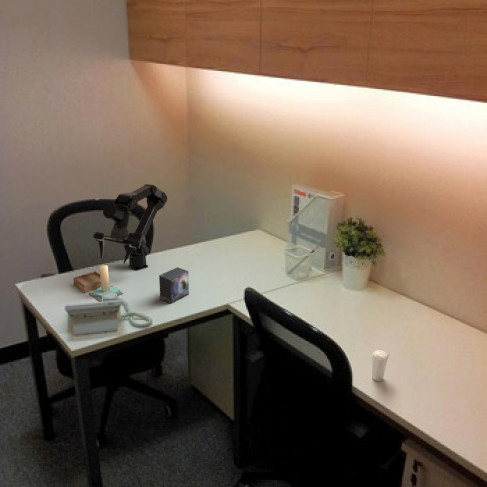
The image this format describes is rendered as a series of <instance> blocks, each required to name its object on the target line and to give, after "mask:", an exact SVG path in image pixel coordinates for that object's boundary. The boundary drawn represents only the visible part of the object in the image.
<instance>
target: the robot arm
mask: <svg viewBox="0 0 487 487" xmlns="http://www.w3.org/2000/svg"><path fill="white" fill-rule="evenodd" d="M144 199H146V208H145V210H144V213H143V214H142V217H141V218H140V220H139V222H138V224H137V227H136V229H135V230H134V232H130V229H128V228H129V224H130V219H131V217H133V216H134V214H133V212H132V210H133V209H134V208H136V207H137V206H138V205H139V204H138V203H139V202H140V201H142V200H144ZM167 201H168V196H167V194H166V192H164V191H163V190H161V189H159V188H158V187H157V186H156V185H154V184H149V183H147V184H143V186H141V187H139V188H137V189H134V190H133V191H132V192H122V193H119V194H118V195H117V197H116V198H115V199H114V201H109V204H107V205H106V206H104V208H103V210H102V215H103V217H105V218H106V219H108V220H110V221H113V226H112V229H111V230H110V235H109V236H108V235H106V234H105V233H103V232H99V231H96V232H94V233H93V236H92V239H93V240H95V243H98V246H99V252H100V253H99V255H100V259H101V260H102V259H103V258H104V250H105V241H107V242H112V243H116V244H122V245H123V247H124V250H125V256H124V258H123V264H126V262H127V260H128V263H129V264H128V267H129V268H131V269H133V271H134V270H135V271H139V270H142V269H145V268H148V267H149V265H148V264H147V256H148V254H149V252H150V248H149V247H148V246H147V241H146V236H147V233H148V232H149V230H150V228H151V226H152V223H153V222H154V219H155V217H156V215H157V213H158V211H160V210H161V209H163V208H164V206H165V205H166V203H167Z"/></svg>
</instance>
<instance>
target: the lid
mask: <svg viewBox="0 0 487 487" xmlns="http://www.w3.org/2000/svg"><path fill="white" fill-rule="evenodd" d="M99 274H100V278H101V287H100V288H98V289H97V290H94V291H91V292H92V293H91V295H90V296H92V295H93V296H97V297H101V298H102V294H103V293H104V292H107V291H112V292H115V293H116V294H117V293H118V292H121V288H119V287H115V286H113V287H111V286H112V285H110V276H109V266H108V264H101V265H99ZM93 296H92V297H93Z"/></svg>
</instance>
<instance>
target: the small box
mask: <svg viewBox="0 0 487 487" xmlns="http://www.w3.org/2000/svg"><path fill="white" fill-rule="evenodd" d="M189 274H190V272H189V271H188V270H186V269H183V268H180V267H178V266H177V267H175V268H172V269H171V270H170V269H169V270H168V271H166V272H164V273H163V272H162V273H161V274H159V275H158V277H159V278H158V281H159V282H158V283H159V284H158V285H159V300H161V301H163V302H166V303H168V304H170V305H171V304H173V303H175V302H177V301H178V300H181V299H183V298H186V296H189V295H190V289H189V287H190V286H189V285H190V284H189V283H190V281H189Z"/></svg>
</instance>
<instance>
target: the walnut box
mask: <svg viewBox="0 0 487 487" xmlns="http://www.w3.org/2000/svg"><path fill="white" fill-rule="evenodd" d="M72 282H73V286H75V287H76V288H77V289H78V290H80V291H81V292H83V293H84V294H87V293H90V292H93V291H95V290H97V289H98V288H100V287H101V278H100V272H97V271H96V270H95V271H91V272H88V273H85V274H81V275H78V276H74V277H73V278H72Z"/></svg>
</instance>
